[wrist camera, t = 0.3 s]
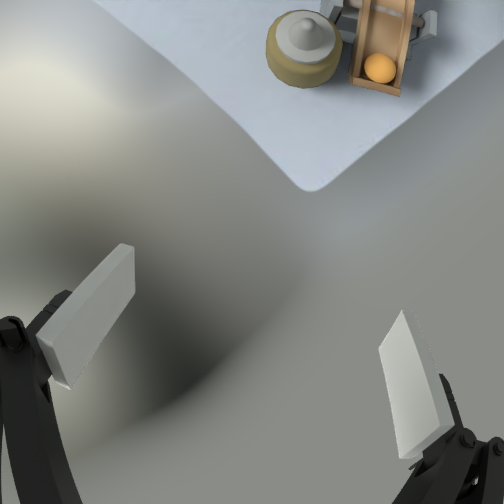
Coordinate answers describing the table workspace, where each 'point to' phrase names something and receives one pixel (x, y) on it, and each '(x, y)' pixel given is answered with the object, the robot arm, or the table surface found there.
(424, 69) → the table surface
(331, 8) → the fulcrum
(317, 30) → the squeeze bottle
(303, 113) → the table surface
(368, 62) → the ball
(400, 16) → the lever
